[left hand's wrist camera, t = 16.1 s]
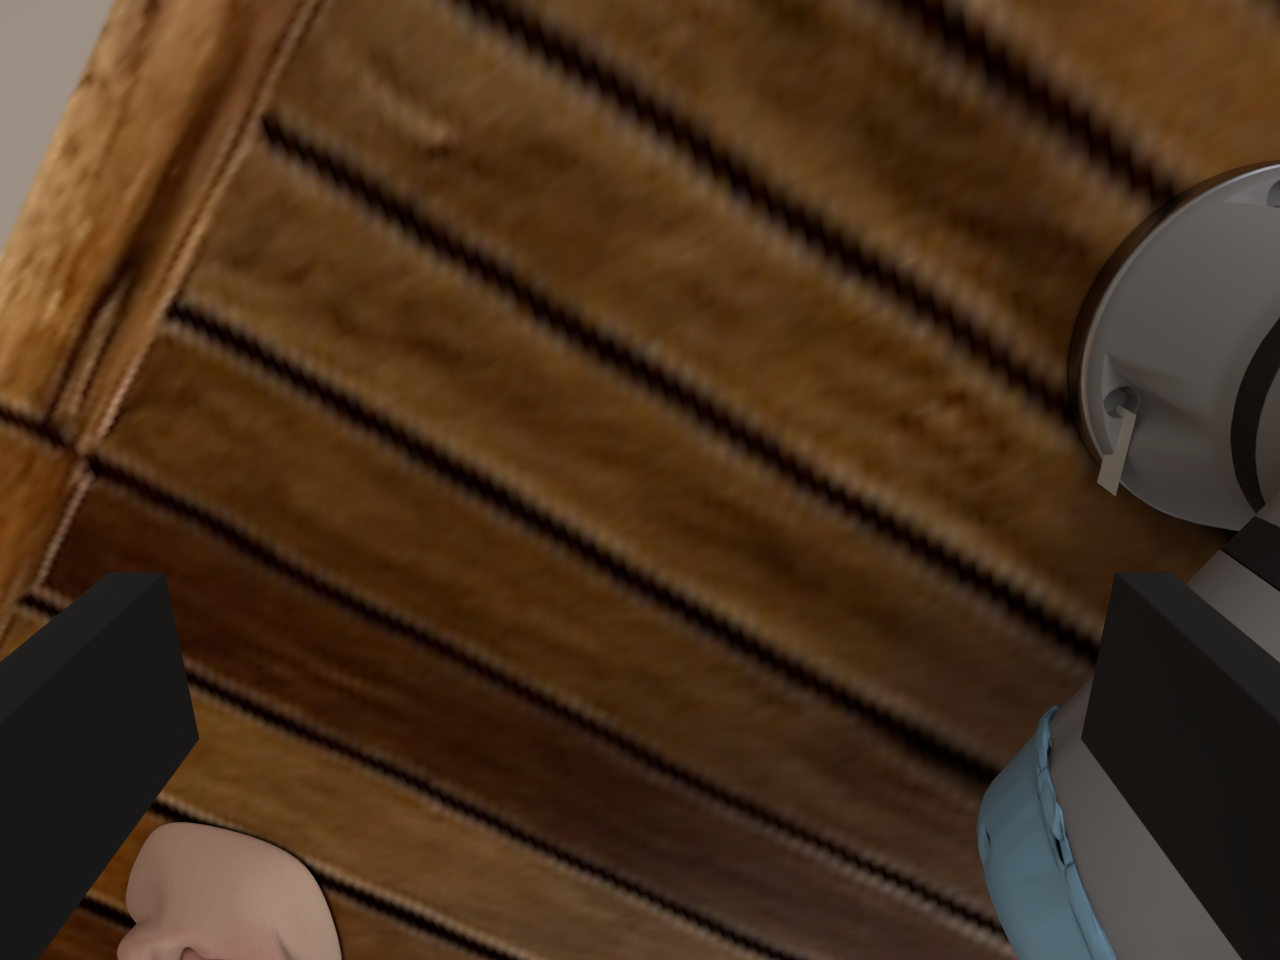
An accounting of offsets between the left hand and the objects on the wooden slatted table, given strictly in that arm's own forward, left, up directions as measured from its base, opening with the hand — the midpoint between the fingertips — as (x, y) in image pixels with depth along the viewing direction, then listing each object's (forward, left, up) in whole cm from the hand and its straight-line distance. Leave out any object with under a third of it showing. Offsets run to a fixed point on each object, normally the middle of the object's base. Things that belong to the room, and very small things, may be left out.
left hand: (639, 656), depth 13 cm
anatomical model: (+3, +40, -27) cm, 49 cm away
